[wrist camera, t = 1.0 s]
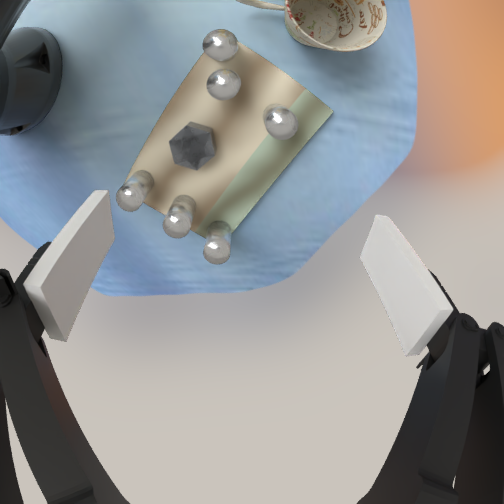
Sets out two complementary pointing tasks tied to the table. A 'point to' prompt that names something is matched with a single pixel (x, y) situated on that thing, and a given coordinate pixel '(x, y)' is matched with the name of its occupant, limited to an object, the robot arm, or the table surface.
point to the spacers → (183, 206)
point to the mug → (332, 22)
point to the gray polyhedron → (193, 146)
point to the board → (228, 139)
